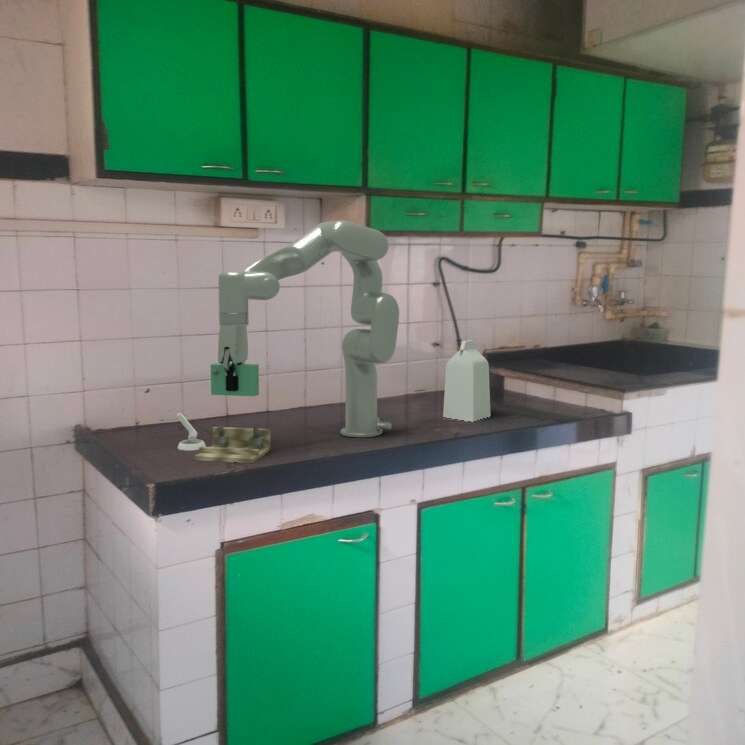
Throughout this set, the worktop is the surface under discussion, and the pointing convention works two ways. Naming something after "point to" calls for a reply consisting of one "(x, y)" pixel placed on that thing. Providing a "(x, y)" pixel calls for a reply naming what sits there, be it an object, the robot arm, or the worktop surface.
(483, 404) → the milk
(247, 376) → the door
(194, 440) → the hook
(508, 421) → the worktop surface
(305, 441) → the worktop surface
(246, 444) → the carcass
